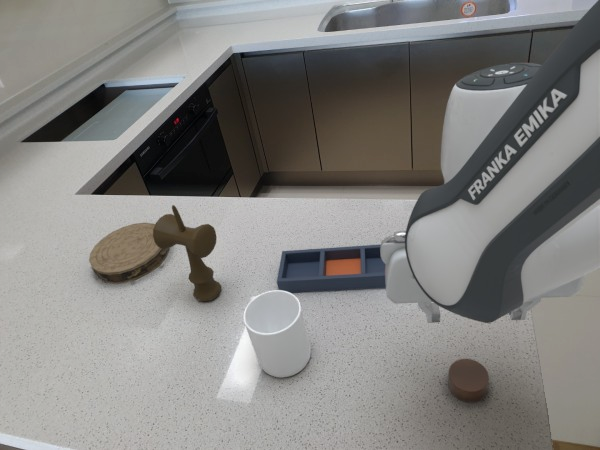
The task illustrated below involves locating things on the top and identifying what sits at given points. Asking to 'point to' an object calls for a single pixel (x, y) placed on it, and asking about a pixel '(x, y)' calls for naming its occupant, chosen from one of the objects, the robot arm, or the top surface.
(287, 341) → the mug
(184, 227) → the kendama
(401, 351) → the top surface
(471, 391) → the cylinder
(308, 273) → the grid
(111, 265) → the wood slice coaster
